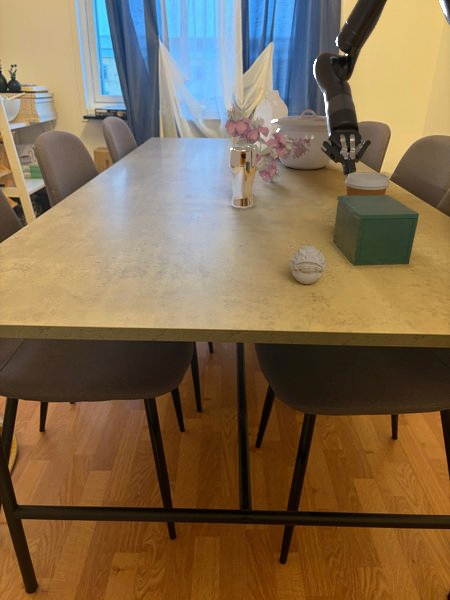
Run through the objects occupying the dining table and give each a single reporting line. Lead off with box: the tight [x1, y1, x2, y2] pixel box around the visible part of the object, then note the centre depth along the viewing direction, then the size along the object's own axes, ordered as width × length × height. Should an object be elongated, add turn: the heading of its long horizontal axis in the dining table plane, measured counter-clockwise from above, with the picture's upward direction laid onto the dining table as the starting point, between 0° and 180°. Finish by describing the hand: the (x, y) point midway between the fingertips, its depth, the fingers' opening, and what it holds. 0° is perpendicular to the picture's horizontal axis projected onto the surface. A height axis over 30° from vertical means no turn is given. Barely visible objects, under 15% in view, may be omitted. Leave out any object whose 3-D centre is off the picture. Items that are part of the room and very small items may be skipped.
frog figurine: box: [288, 245, 327, 285], centre depth 72 cm, size 6×7×7 cm
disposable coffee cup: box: [344, 171, 391, 196], centre depth 98 cm, size 10×10×12 cm
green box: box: [332, 200, 419, 266], centre depth 85 cm, size 14×11×9 cm
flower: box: [224, 103, 292, 182], centre depth 138 cm, size 20×22×25 cm
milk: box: [254, 89, 289, 152], centre depth 202 cm, size 12×12×26 cm
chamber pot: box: [271, 108, 332, 171], centre depth 165 cm, size 28×28×21 cm
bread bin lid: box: [336, 194, 420, 219], centre depth 83 cm, size 14×11×1 cm
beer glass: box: [229, 146, 257, 209], centre depth 115 cm, size 7×7×15 cm
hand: (350, 175), depth 107 cm, fingers closed
